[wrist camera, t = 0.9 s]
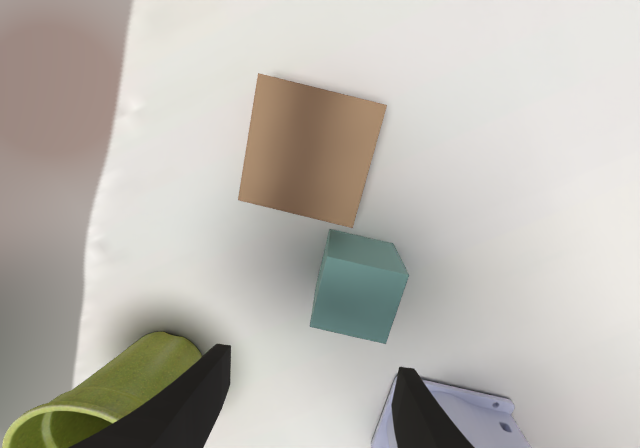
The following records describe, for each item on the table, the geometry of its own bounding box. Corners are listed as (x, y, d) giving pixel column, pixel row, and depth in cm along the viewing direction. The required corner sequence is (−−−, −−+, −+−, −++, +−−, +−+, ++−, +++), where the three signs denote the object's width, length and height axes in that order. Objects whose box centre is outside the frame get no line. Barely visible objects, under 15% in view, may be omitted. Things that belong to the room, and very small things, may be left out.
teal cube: (392, 243, 21) (408, 275, 16) (375, 298, 22) (385, 344, 17) (329, 228, 21) (327, 256, 16) (316, 285, 22) (309, 326, 17)
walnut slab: (379, 110, 19) (387, 105, 16) (350, 215, 21) (352, 227, 18) (270, 83, 19) (258, 73, 16) (252, 191, 21) (237, 200, 18)
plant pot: (178, 291, 23) (86, 380, 14) (248, 380, 25) (202, 503, 16) (92, 341, 25) (-34, 446, 16) (163, 420, 27) (84, 549, 18)
